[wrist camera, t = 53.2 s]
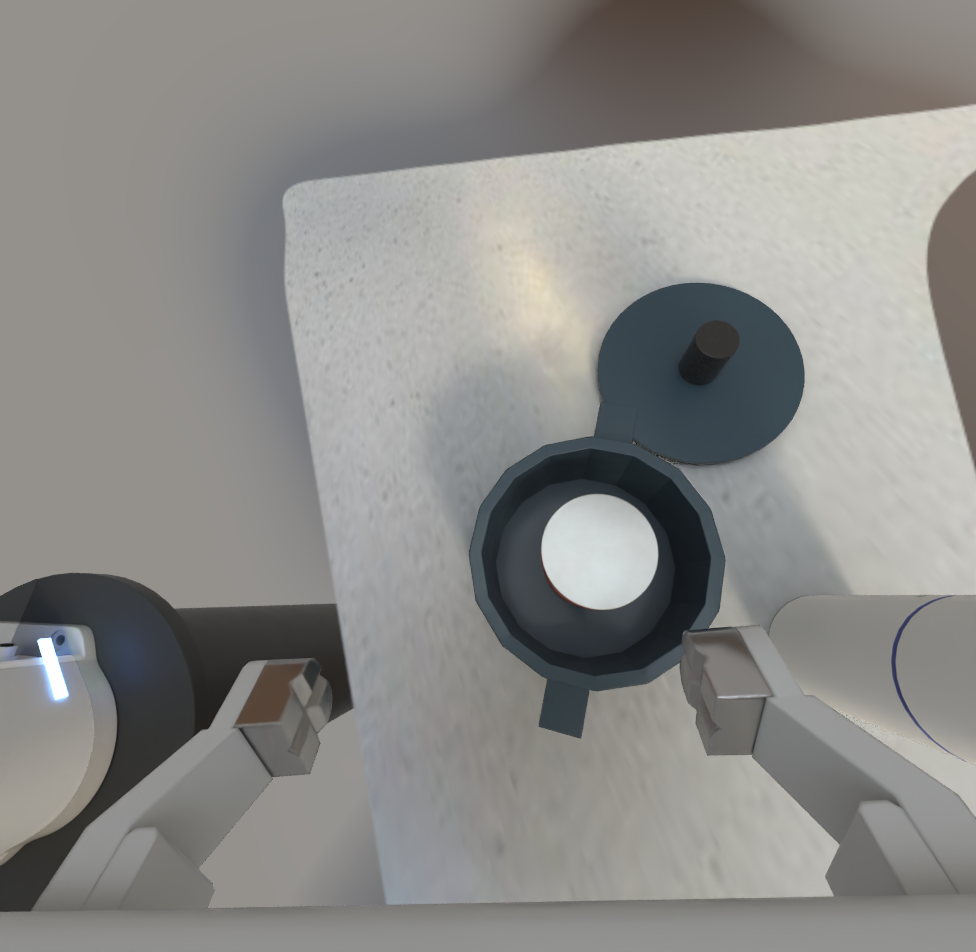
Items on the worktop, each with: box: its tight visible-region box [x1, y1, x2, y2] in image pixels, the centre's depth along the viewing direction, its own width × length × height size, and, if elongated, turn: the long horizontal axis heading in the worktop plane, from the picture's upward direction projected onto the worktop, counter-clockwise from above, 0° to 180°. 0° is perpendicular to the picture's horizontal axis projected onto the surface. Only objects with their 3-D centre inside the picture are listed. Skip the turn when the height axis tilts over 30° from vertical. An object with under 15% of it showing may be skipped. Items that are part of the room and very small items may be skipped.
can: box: [540, 494, 659, 610], centre depth 31 cm, size 7×7×9 cm
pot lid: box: [598, 283, 804, 464], centre depth 36 cm, size 16×16×6 cm
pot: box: [469, 402, 725, 738], centre depth 32 cm, size 15×20×8 cm
